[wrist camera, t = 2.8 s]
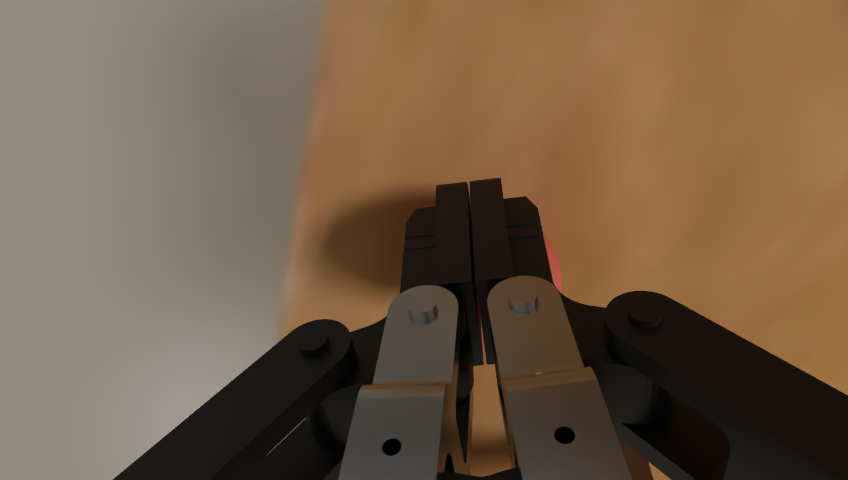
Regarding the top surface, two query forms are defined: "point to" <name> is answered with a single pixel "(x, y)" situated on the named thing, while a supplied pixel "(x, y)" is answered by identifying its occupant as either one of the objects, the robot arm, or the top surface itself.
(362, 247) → the top surface
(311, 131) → the top surface
